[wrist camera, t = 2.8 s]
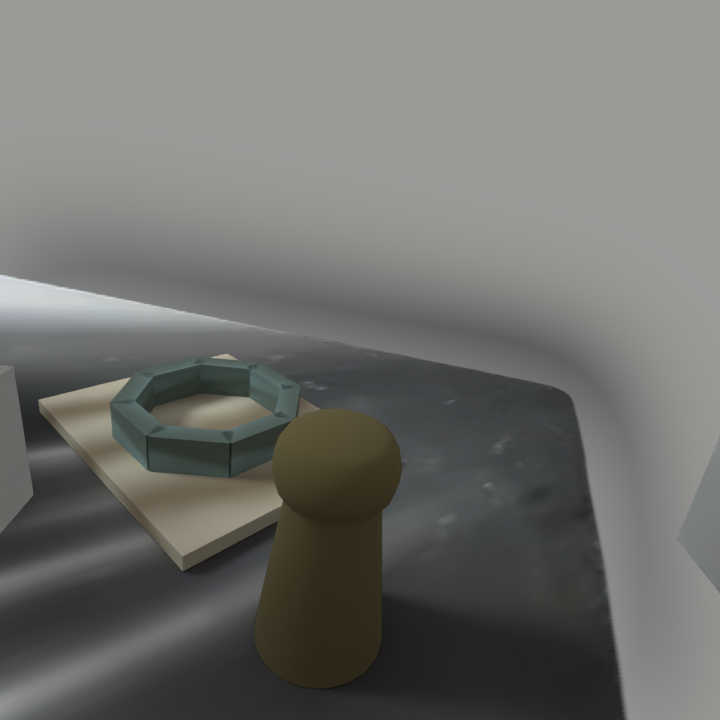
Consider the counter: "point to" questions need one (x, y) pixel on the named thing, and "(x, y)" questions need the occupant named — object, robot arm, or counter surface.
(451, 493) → the counter surface
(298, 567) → the cork
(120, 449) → the ring stand
